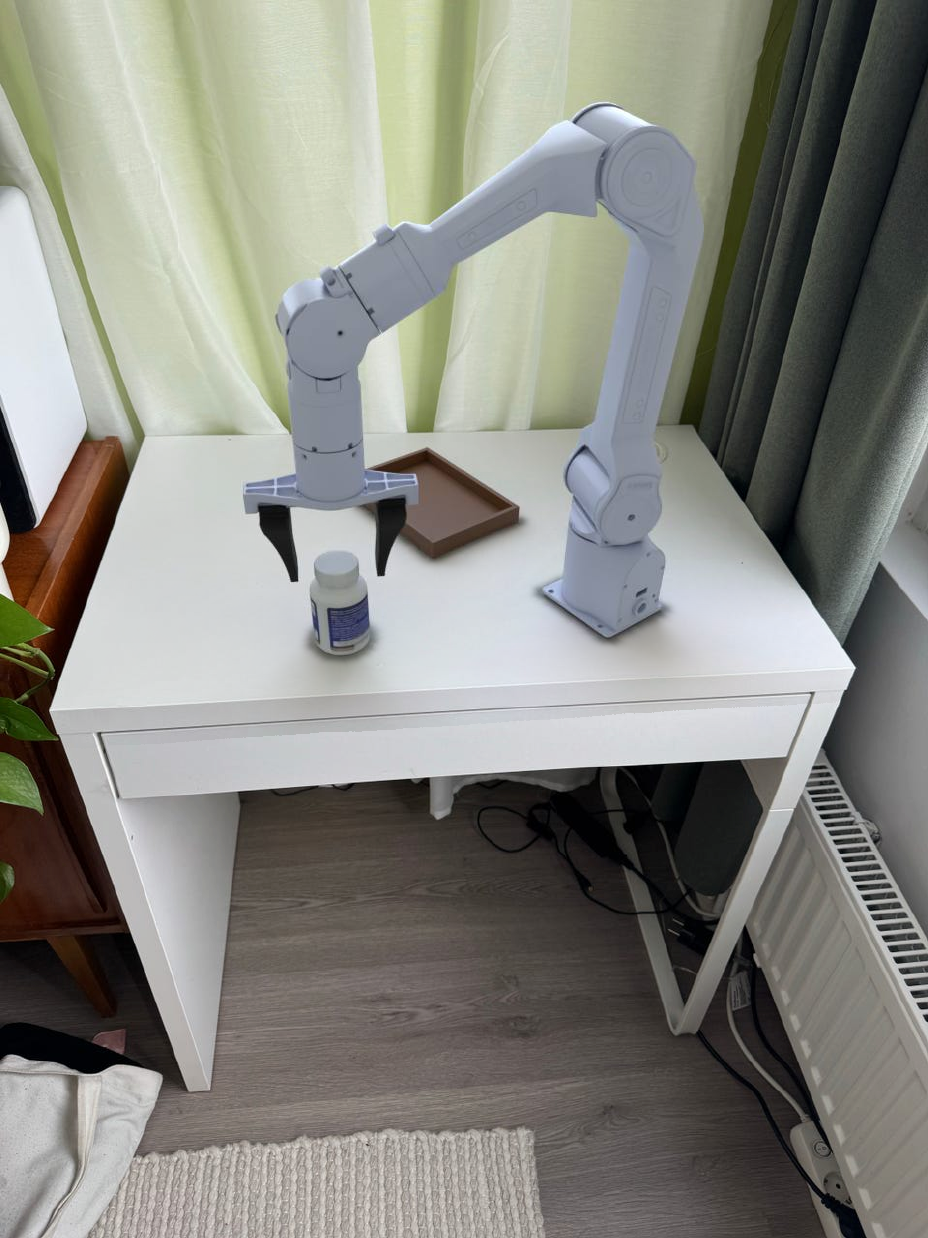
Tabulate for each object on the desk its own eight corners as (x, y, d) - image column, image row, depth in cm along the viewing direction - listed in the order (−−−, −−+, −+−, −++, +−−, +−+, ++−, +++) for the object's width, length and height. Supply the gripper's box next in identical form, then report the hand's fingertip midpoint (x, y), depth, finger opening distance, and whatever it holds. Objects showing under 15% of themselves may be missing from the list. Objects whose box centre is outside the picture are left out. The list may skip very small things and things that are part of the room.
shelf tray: (518, 521, 105) (519, 506, 104) (432, 558, 99) (433, 543, 98) (427, 461, 115) (427, 446, 114) (344, 491, 109) (343, 476, 108)
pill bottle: (380, 632, 89) (377, 556, 84) (350, 663, 85) (345, 586, 80) (334, 615, 91) (328, 539, 85) (303, 645, 87) (294, 568, 82)
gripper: (411, 410, 79) (412, 542, 88) (238, 417, 77) (256, 552, 86) (421, 450, 74) (421, 587, 82) (234, 459, 72) (254, 598, 80)
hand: (337, 572), depth 84 cm, fingers open, 7 cm apart
